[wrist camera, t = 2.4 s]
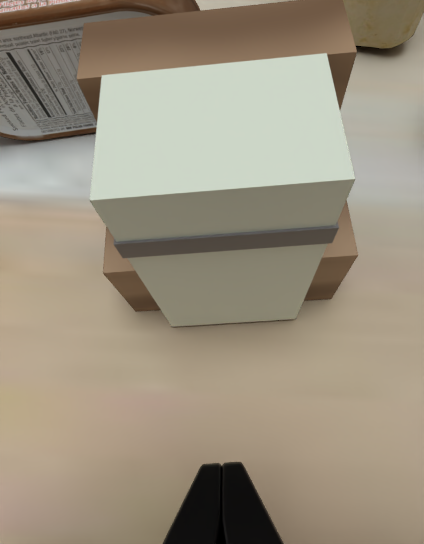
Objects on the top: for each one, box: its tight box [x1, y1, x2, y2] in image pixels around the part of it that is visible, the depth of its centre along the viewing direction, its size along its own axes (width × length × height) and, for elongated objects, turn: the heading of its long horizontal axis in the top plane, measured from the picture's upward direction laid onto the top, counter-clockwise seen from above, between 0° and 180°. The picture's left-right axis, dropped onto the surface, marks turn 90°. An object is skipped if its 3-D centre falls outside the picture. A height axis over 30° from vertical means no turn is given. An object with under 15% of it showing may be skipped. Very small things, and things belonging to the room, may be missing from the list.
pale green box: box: [90, 53, 355, 327], centre depth 15 cm, size 4×6×11 cm
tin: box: [0, 0, 200, 140], centre depth 21 cm, size 15×3×8 cm, turn 97°
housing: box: [77, 0, 358, 311], centre depth 17 cm, size 9×10×9 cm
